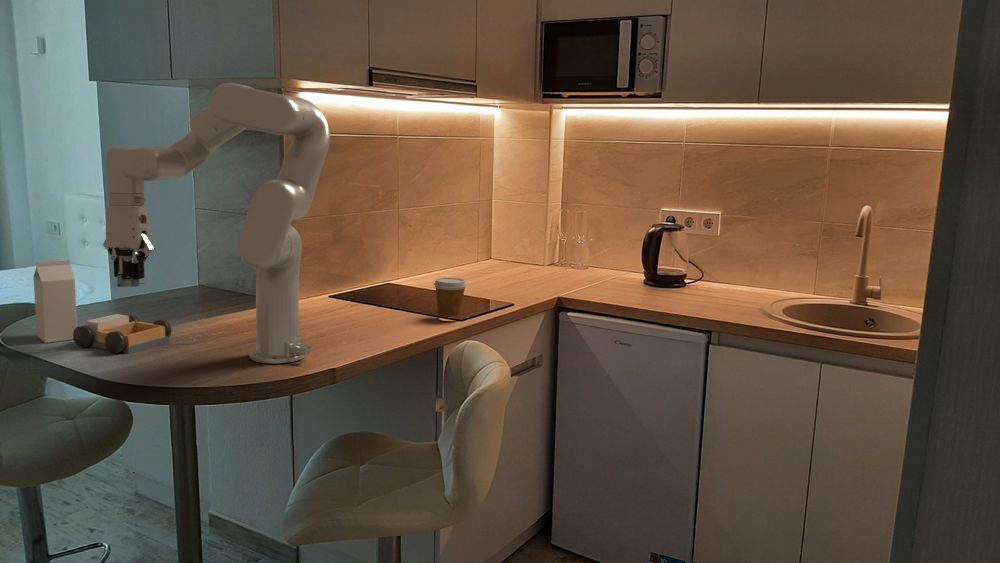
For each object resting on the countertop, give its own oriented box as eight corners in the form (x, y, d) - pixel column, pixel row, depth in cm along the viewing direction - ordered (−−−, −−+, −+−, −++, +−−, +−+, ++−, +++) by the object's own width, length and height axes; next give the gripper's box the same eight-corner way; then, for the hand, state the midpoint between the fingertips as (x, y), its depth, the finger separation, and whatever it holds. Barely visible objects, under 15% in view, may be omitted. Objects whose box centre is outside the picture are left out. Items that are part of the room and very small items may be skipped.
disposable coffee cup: (440, 314, 229) (441, 276, 227) (469, 318, 226) (471, 279, 224) (427, 321, 220) (429, 280, 218) (458, 325, 217) (459, 284, 215)
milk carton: (77, 339, 183) (74, 262, 179) (44, 343, 178) (40, 264, 174) (69, 333, 188) (65, 258, 184) (36, 337, 183) (32, 260, 179)
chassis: (173, 340, 185) (172, 319, 184) (123, 355, 172) (122, 331, 171) (124, 332, 191) (123, 311, 190) (72, 345, 177) (70, 322, 176)
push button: (146, 283, 181) (145, 242, 180) (147, 287, 177) (146, 245, 175) (116, 284, 179) (114, 242, 177) (115, 288, 174) (114, 245, 172)
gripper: (167, 202, 175) (169, 279, 178) (112, 197, 181) (115, 271, 184) (141, 204, 168) (144, 284, 171) (85, 198, 174) (89, 276, 177)
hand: (129, 276), depth 177 cm, fingers closed on push button, 4 cm apart
